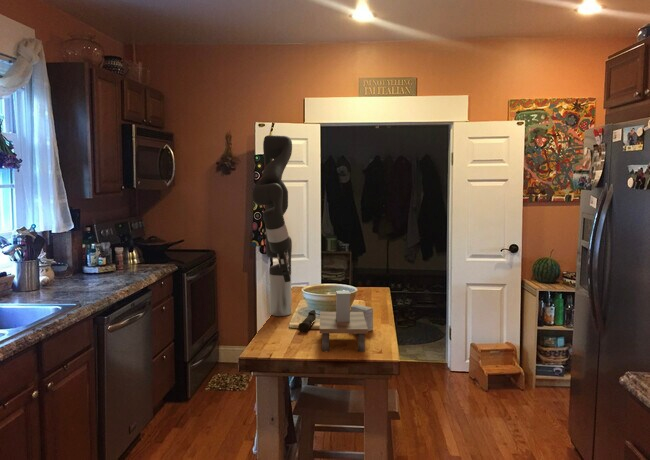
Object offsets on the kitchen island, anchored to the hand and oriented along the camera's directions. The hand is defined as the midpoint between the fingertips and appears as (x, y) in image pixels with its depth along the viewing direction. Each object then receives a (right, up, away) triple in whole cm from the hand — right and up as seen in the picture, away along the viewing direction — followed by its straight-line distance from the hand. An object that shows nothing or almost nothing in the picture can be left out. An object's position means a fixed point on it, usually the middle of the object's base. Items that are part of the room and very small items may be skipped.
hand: (287, 275), depth 194 cm
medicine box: (+28, -21, +7) cm, 36 cm away
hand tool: (+7, -21, +11) cm, 25 cm away
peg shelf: (+20, -23, -9) cm, 31 cm away
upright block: (+20, -15, -10) cm, 27 cm away
